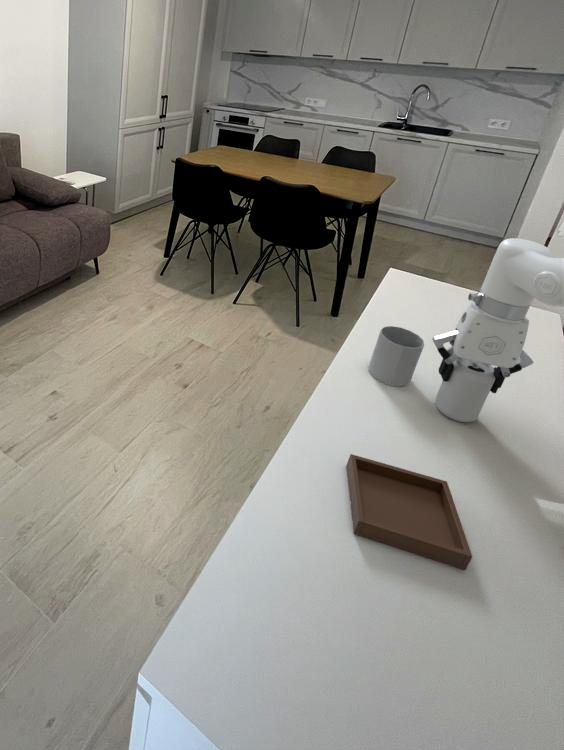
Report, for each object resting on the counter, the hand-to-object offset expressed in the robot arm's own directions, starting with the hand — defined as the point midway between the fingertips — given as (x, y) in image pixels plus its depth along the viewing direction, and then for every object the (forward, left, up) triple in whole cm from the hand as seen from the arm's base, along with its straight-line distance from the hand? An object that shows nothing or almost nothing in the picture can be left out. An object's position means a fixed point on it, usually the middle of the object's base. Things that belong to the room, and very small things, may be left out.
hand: (467, 382), depth 97 cm
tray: (+15, +31, -7) cm, 35 cm away
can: (0, 0, -7) cm, 7 cm away
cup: (+11, -8, -7) cm, 16 cm away
